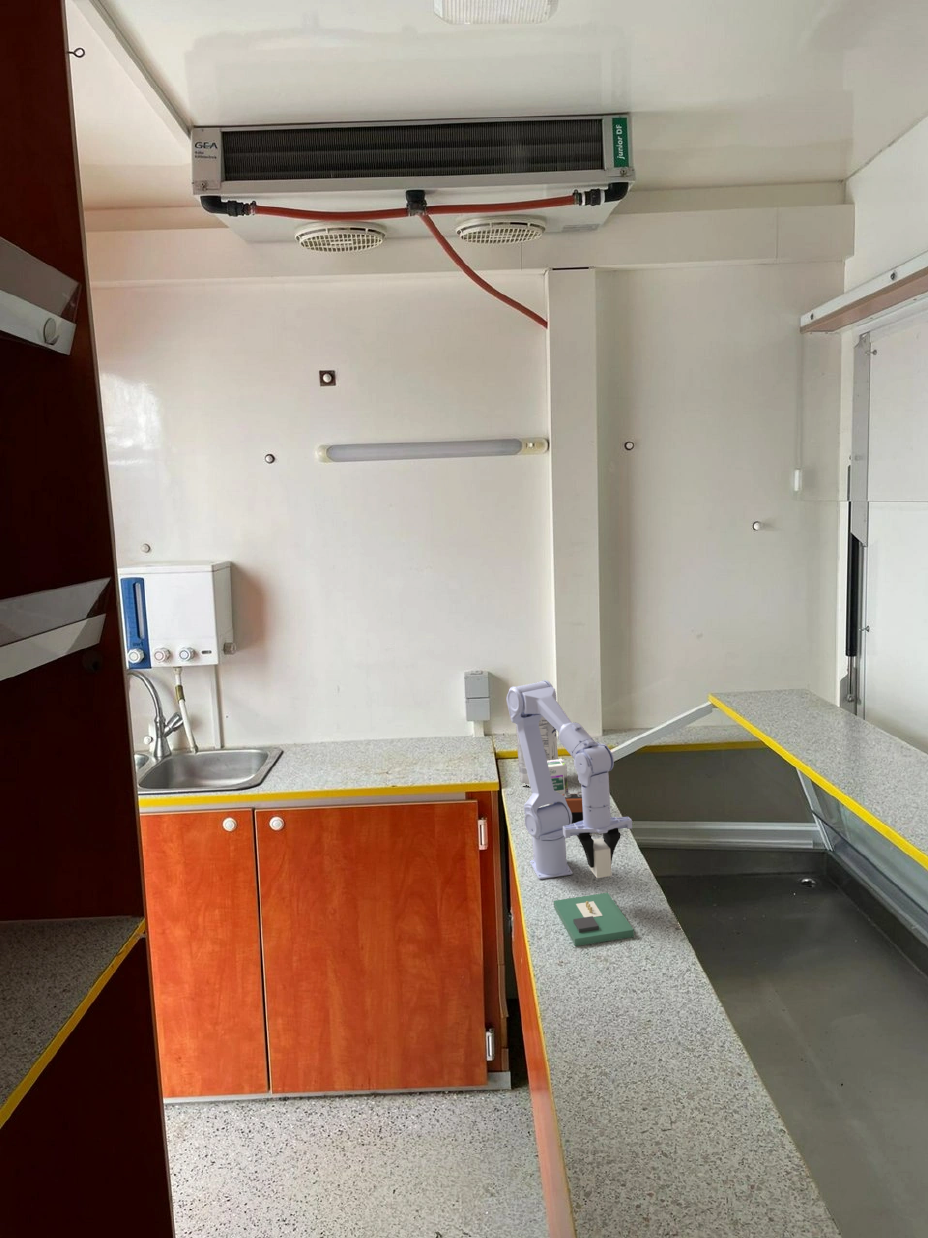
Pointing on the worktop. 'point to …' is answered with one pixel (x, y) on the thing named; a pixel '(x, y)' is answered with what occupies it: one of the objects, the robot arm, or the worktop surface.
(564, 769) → the syrup box
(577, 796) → the battery
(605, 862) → the block
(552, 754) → the juice carton
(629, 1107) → the worktop surface
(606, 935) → the circuit board
